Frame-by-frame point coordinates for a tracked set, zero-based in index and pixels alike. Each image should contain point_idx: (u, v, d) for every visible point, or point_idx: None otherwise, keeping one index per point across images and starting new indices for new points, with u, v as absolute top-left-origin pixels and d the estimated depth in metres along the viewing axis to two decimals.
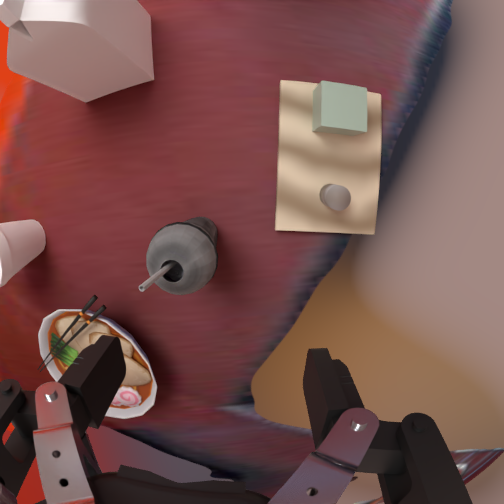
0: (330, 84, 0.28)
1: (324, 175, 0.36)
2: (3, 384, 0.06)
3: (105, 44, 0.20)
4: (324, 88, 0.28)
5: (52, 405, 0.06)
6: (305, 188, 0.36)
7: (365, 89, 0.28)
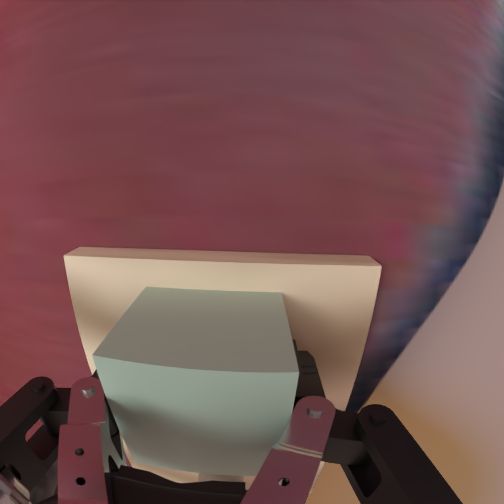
0: (129, 372, 0.07)
1: None
2: (36, 381, 0.07)
3: None
4: (110, 382, 0.07)
5: (87, 401, 0.07)
6: None
7: (290, 379, 0.07)
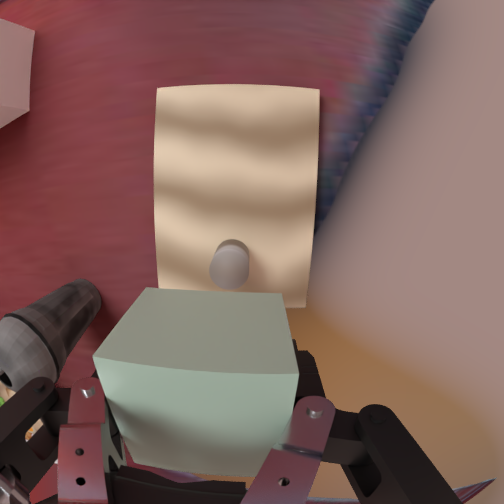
0: (130, 373, 0.07)
1: (221, 227, 0.25)
2: (36, 381, 0.07)
3: None
4: (110, 383, 0.07)
5: (86, 401, 0.07)
6: (194, 247, 0.25)
7: (290, 380, 0.07)
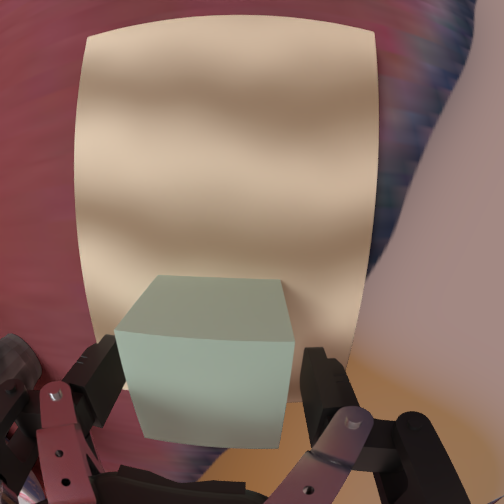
0: (147, 344, 0.08)
1: None
2: (7, 383, 0.06)
3: None
4: (129, 355, 0.08)
5: (56, 404, 0.06)
6: None
7: (288, 348, 0.08)
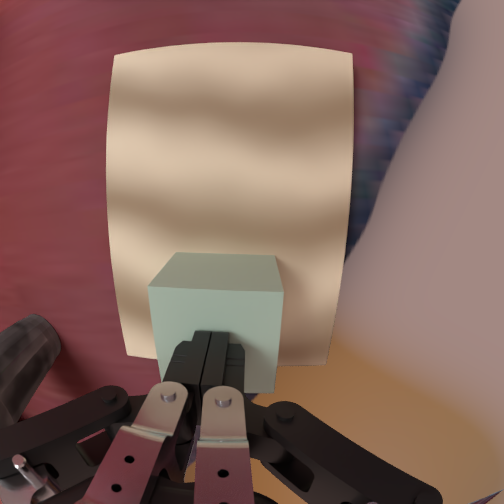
0: (173, 296, 0.12)
1: None
2: (107, 391, 0.07)
3: None
4: (157, 307, 0.12)
5: (162, 407, 0.07)
6: None
7: (278, 297, 0.12)
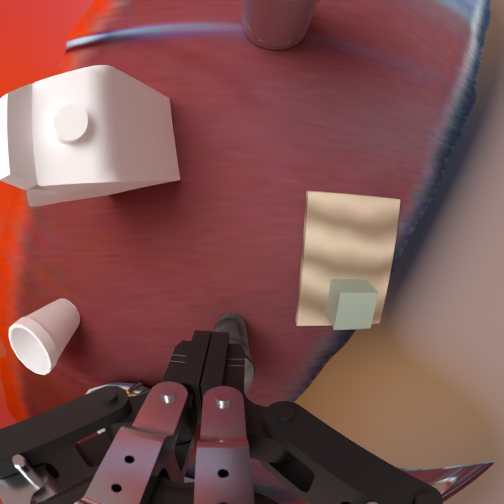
0: (347, 295, 0.36)
1: None
2: (107, 391, 0.07)
3: (136, 181, 0.25)
4: (341, 299, 0.36)
5: (162, 407, 0.07)
6: (324, 292, 0.41)
7: (376, 294, 0.36)
